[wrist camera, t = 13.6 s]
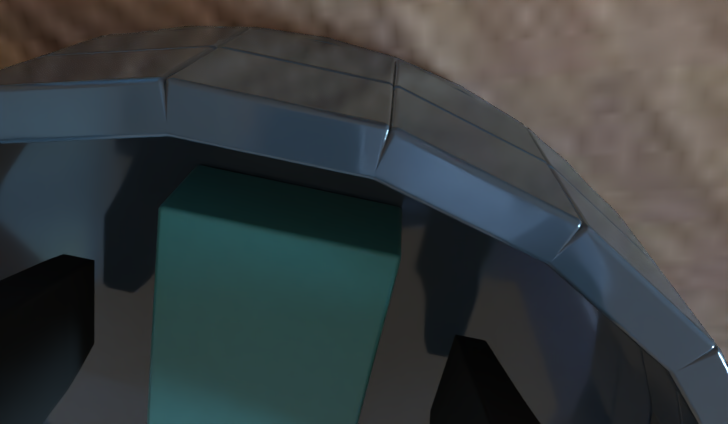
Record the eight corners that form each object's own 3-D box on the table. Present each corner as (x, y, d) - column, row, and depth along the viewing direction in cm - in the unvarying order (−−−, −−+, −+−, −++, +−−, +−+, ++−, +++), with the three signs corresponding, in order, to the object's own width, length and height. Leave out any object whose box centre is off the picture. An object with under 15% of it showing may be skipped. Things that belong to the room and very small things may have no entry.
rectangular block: (345, 432, 14) (336, 507, 12) (177, 398, 14) (142, 468, 12) (403, 205, 11) (402, 257, 10) (196, 162, 11) (157, 206, 9)
